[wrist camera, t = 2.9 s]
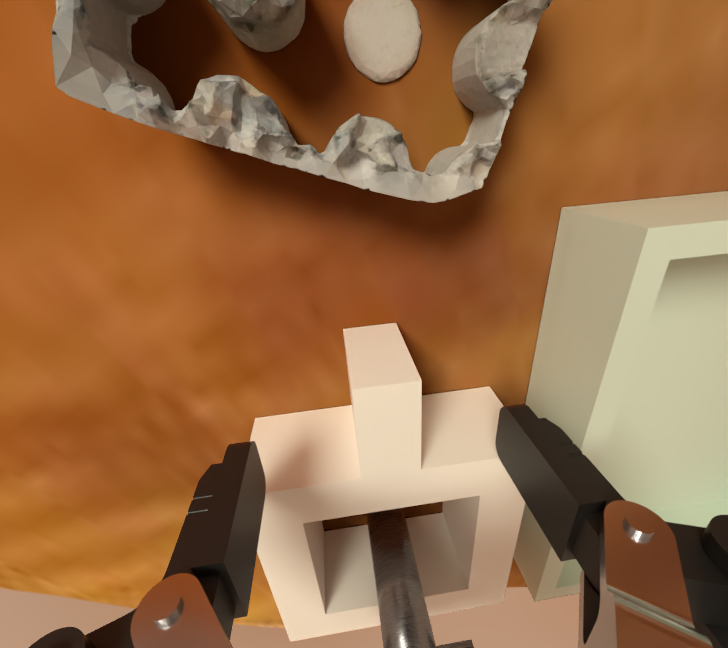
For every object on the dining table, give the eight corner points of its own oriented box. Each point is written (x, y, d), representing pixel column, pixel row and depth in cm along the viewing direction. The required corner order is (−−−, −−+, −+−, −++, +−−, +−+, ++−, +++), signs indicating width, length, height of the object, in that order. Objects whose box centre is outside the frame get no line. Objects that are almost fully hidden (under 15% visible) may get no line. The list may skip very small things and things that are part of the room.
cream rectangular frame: (233, 342, 14) (204, 409, 10) (498, 310, 15) (556, 362, 11) (295, 557, 21) (290, 641, 17) (472, 527, 21) (502, 602, 18)
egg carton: (540, -69, 10) (678, -203, 6) (444, 205, 13) (496, 228, 9) (108, -295, 7) (-107, -756, 4) (119, 112, 10) (10, 92, 7)
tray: (561, 207, 13) (648, 228, 9) (936, 170, 14) (1132, 177, 11) (501, 532, 22) (534, 601, 19) (729, 494, 23) (799, 552, 20)
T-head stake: (339, 491, 18) (351, 704, 11) (422, 479, 19) (485, 678, 12) (342, 515, 19) (356, 726, 12) (422, 502, 20) (480, 700, 13)
